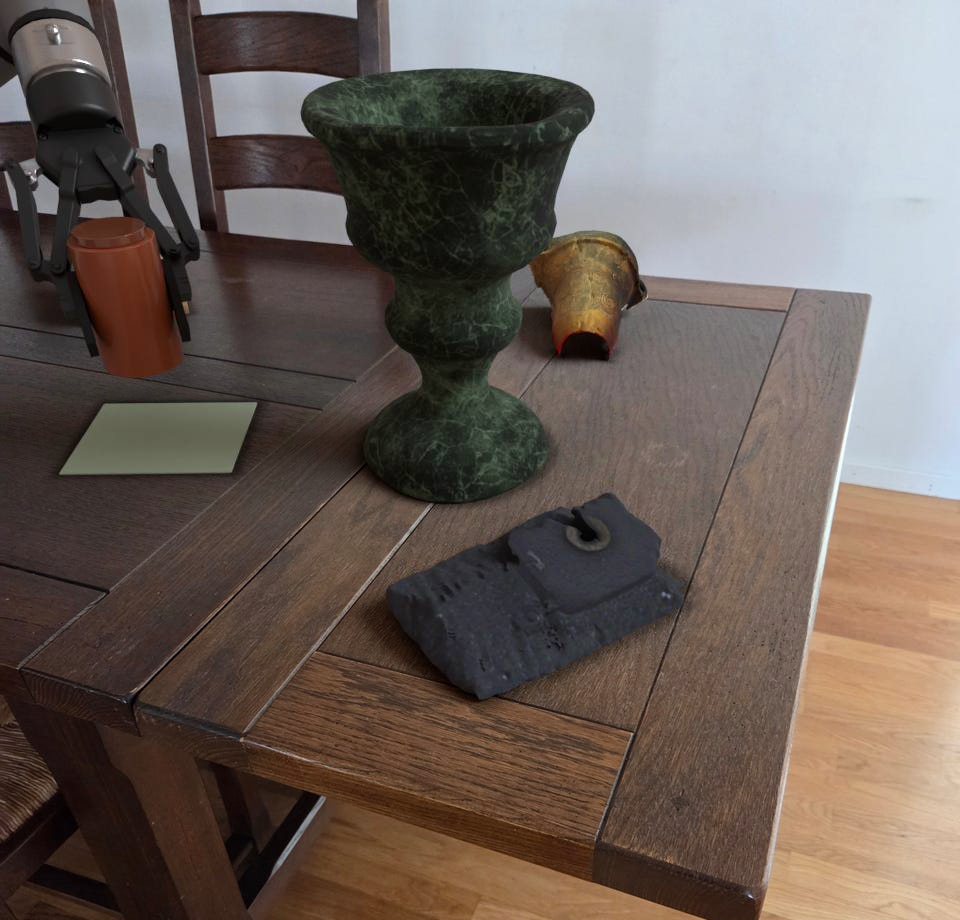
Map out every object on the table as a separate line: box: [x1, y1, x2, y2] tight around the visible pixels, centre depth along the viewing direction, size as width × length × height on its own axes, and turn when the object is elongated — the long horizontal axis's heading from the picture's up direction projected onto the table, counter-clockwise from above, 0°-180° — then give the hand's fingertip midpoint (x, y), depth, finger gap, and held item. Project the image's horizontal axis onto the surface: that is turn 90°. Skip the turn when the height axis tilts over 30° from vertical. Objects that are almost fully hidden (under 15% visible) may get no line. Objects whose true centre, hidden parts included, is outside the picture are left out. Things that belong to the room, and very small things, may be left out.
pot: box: [527, 229, 649, 361], centre depth 105 cm, size 17×11×18 cm
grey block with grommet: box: [385, 492, 685, 700], centre depth 67 cm, size 15×22×5 cm
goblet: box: [300, 67, 596, 504], centre depth 76 cm, size 22×23×30 cm
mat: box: [58, 401, 258, 476], centre depth 88 cm, size 16×14×1 cm
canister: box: [67, 216, 185, 379], centre depth 79 cm, size 7×7×12 cm
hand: (140, 342), depth 78 cm, fingers closed on canister, 7 cm apart
